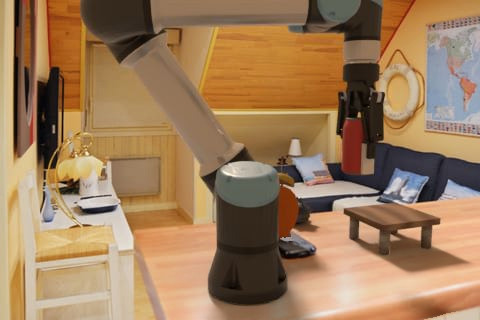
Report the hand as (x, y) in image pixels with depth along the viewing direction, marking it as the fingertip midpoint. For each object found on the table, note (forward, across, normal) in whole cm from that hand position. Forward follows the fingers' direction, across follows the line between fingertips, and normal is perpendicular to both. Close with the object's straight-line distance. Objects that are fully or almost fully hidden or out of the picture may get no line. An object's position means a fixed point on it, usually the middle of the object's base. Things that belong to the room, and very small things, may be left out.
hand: (357, 170), depth 100 cm
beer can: (+1, 0, 0) cm, 1 cm away
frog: (+20, +31, 0) cm, 37 cm away
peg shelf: (+20, +6, -14) cm, 25 cm away
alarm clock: (+20, +17, +13) cm, 29 cm away
